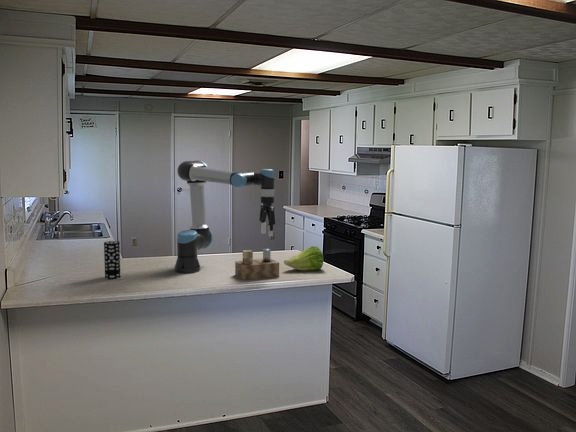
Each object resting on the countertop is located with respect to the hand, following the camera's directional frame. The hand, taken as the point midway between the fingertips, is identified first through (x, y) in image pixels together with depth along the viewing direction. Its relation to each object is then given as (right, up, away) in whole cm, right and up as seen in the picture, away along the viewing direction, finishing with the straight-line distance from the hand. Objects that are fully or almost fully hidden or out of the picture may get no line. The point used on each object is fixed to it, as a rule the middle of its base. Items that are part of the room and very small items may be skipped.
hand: (267, 234), depth 310 cm
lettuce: (+21, -22, +16) cm, 35 cm away
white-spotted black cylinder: (-86, -24, -10) cm, 90 cm away
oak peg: (-11, -17, -3) cm, 20 cm away
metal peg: (0, -16, +2) cm, 16 cm away
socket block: (-6, -24, 0) cm, 24 cm away
